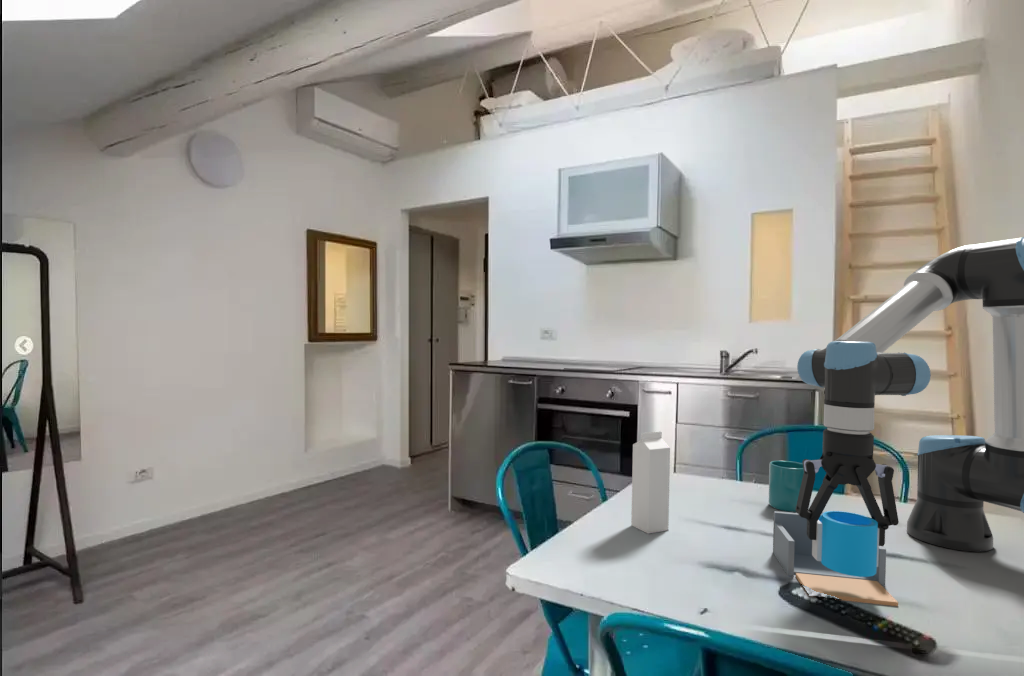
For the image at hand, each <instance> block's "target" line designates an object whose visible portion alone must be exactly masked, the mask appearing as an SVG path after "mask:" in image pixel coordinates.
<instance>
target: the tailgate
mask: <svg viewBox="0 0 1024 676" xmlns="http://www.w3.org/2000/svg"><path fill="white" fill-rule="evenodd" d="M795 578H796V579H797V581H798V582H799V584H800V585H801V584H802V585H804V586H807V587H809V588H811V589H812V590H814V591H816V592H820V593H824V594H827V595H831V596H835V597H837V598H839V599H842V600H841V601H847V602H855V603H865V604H874V605H884V606H891V607H899V601H898V600H897V599H896V598H895V597H894V596H893V595H892V594H891V593H890V592H889V591H888V590H887V589H885V587H884V585H881V584H880V583H879V582H878V581H871V580H861V579H851V578H841V577H831V576H821V575H811V574H801V573H796V574H795ZM802 585H801V586H802Z"/></svg>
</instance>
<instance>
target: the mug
mask: <svg viewBox="0 0 1024 676" xmlns="http://www.w3.org/2000/svg"><path fill="white" fill-rule="evenodd" d="M818 520H819V521H820V522H821V523H822V560H821V563H822V564H823V565H824V566H825V567H827V568H829V569H831V570H833V571H836V572H839V573H842V574H846V575H851V576H858V577H869V576H874V575H875V574H876V568H877V533H878V522H877V521H876V520H874V519H872V518H871V516H866V515H864V514H860V513H856V512H850V511H842V510H828V511H827V510H826V511H823V512H822V514H821V516H820V517H819V519H818Z"/></svg>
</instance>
